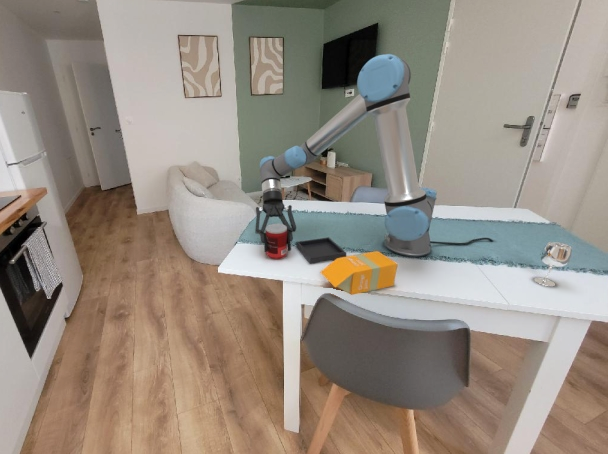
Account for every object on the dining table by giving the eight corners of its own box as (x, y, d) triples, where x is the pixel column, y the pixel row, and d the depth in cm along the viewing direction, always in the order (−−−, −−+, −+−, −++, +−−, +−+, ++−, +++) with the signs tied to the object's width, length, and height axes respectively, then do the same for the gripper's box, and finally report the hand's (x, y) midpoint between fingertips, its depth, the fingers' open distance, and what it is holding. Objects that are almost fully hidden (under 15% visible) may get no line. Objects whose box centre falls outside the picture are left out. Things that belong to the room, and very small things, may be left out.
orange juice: (393, 286, 87) (334, 299, 82) (374, 271, 95) (319, 282, 90) (398, 263, 84) (336, 275, 79) (377, 250, 92) (320, 260, 87)
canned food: (286, 249, 111) (286, 223, 107) (287, 259, 104) (287, 231, 100) (266, 249, 112) (266, 223, 108) (266, 259, 105) (265, 232, 100)
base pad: (328, 242, 115) (328, 237, 115) (345, 258, 103) (346, 252, 102) (296, 247, 113) (296, 241, 112) (310, 263, 101) (310, 258, 100)
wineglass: (525, 277, 88) (539, 241, 83) (543, 276, 88) (558, 240, 83) (545, 288, 82) (561, 251, 78) (564, 286, 83) (581, 249, 78)
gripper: (296, 197, 116) (304, 251, 107) (245, 200, 115) (249, 255, 107) (299, 187, 109) (308, 245, 100) (245, 190, 108) (249, 248, 100)
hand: (277, 250), depth 103 cm, fingers closed on canned food, 8 cm apart
